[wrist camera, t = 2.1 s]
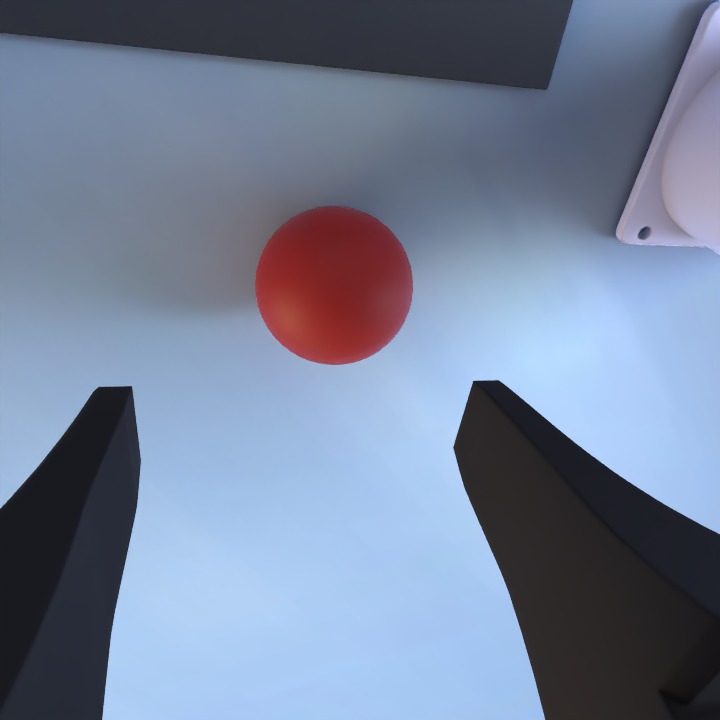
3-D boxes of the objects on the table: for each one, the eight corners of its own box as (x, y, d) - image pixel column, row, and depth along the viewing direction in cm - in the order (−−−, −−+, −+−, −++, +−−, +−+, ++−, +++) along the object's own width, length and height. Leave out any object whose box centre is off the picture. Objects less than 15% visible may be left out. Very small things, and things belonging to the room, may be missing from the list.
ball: (403, 186, 20) (448, 253, 16) (381, 312, 23) (415, 395, 19) (253, 177, 19) (263, 247, 15) (250, 311, 22) (257, 398, 18)
